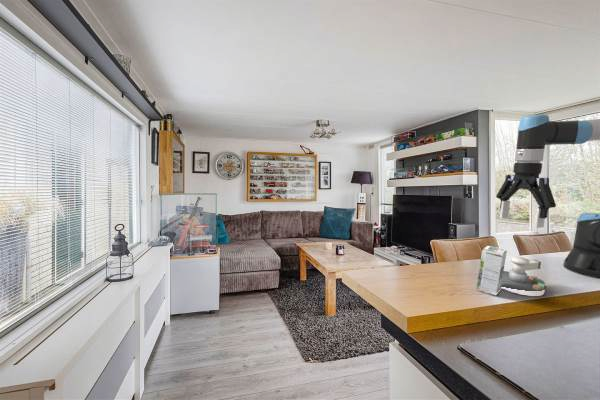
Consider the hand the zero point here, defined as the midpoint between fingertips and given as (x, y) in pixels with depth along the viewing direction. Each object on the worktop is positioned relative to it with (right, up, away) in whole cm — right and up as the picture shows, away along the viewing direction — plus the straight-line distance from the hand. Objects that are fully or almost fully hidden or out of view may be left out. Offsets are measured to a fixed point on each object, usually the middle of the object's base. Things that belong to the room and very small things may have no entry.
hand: (520, 222), depth 99 cm
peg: (-1, -16, -3) cm, 17 cm away
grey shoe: (-4, -22, -3) cm, 22 cm away
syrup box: (-16, -22, -7) cm, 28 cm away
